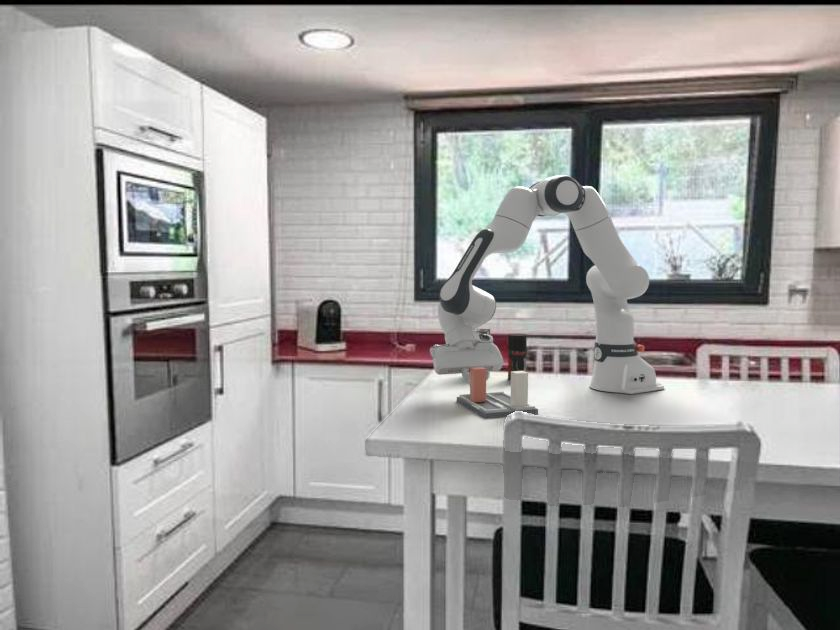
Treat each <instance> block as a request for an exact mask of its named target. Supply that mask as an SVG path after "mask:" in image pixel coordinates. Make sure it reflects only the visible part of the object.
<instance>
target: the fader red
mask: <svg viewBox="0 0 840 630" xmlns="http://www.w3.org/2000/svg"><path fill="white" fill-rule="evenodd" d="M486 393H487V380H486V368H483V367H473V368H470V385H469V394H470V400H471V401H473V402H484V401H486Z"/></svg>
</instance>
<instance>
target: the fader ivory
mask: <svg viewBox="0 0 840 630" xmlns="http://www.w3.org/2000/svg"><path fill="white" fill-rule="evenodd" d="M510 396H511V405H512V406H514V407H526V406H528V404H529V403H528V401H529V400H528V398H529V397H528V396H529V372H528V371H526V372H525V371H511V381H510Z"/></svg>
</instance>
